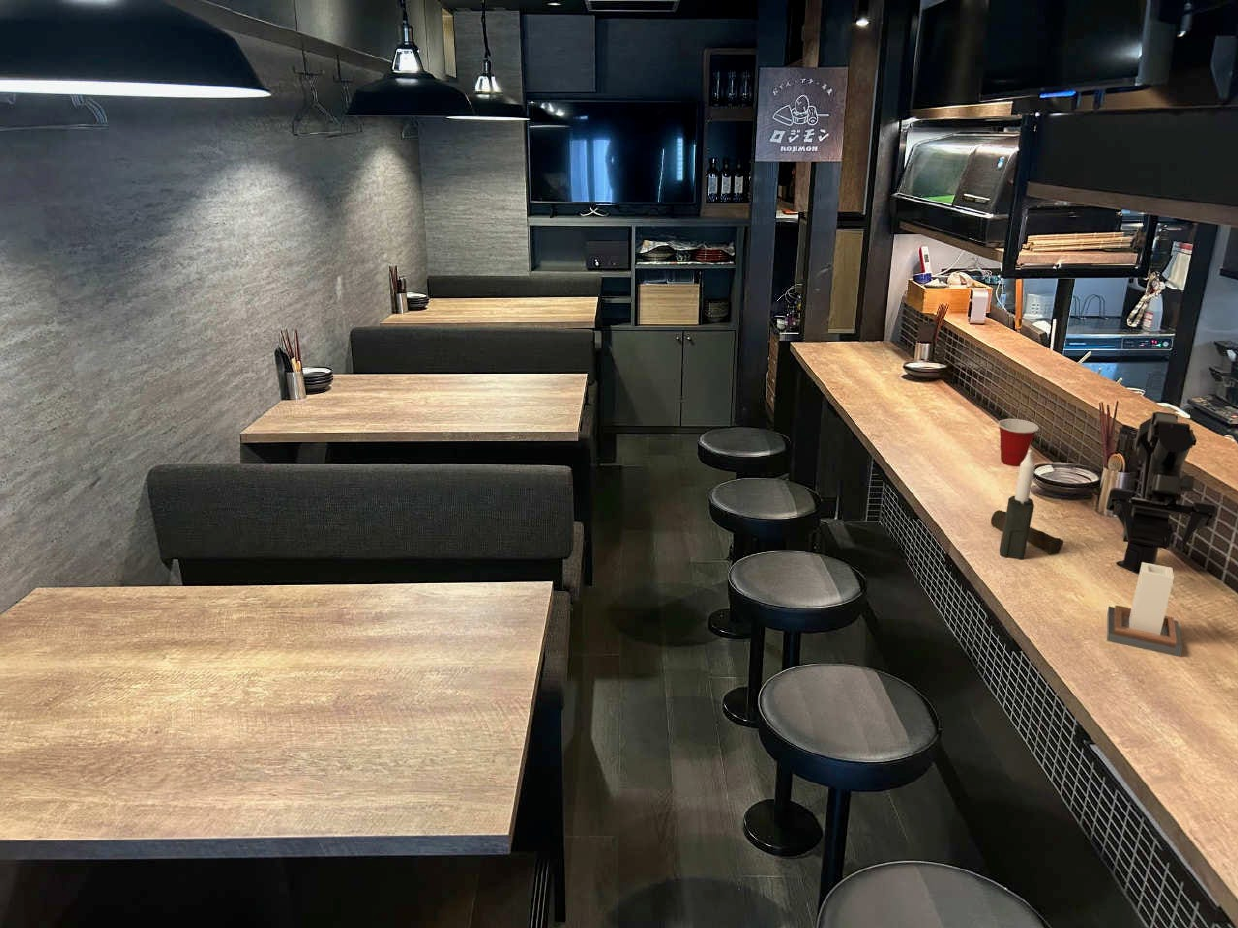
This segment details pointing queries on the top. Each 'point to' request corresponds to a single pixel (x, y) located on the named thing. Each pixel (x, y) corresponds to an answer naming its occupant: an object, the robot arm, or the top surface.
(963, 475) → the top surface
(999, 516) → the hand tool
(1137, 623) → the sleeve
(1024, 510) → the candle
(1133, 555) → the robot arm
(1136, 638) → the seat plate
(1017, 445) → the plastic cup
